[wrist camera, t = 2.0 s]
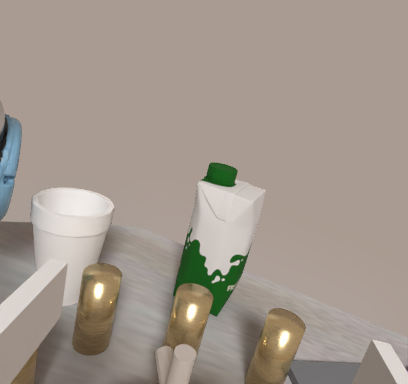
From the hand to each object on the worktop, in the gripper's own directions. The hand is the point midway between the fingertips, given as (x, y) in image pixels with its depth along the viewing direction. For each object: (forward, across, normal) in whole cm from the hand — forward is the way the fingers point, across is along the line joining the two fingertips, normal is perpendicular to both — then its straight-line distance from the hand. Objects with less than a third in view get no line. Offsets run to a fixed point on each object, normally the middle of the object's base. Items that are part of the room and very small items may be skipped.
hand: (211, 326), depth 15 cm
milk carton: (+33, +2, -21) cm, 39 cm away
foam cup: (+26, -17, -21) cm, 37 cm away
